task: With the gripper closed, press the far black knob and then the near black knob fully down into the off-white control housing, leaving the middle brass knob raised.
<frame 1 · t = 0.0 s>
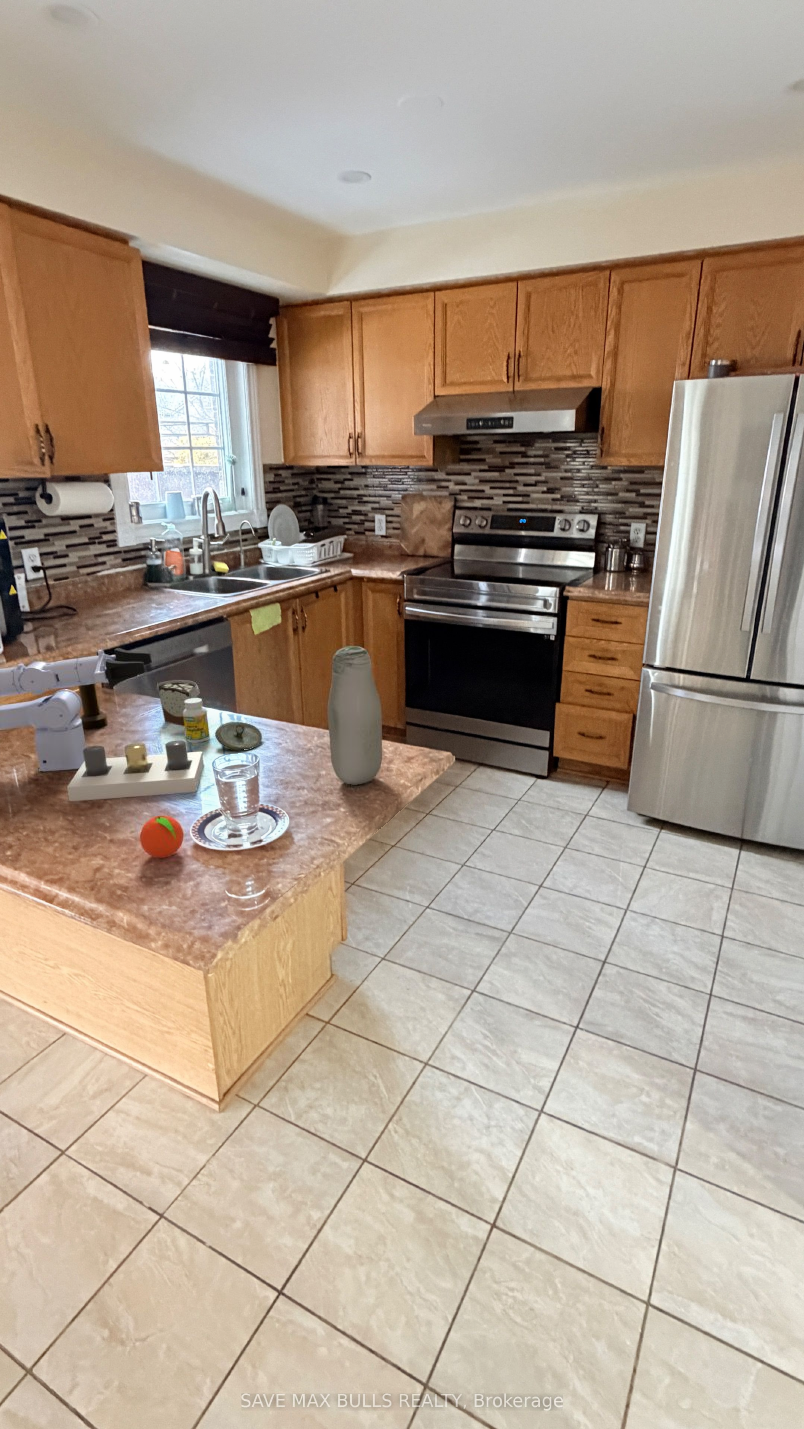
hand: (147, 662, 159), 22 cm above the worktop, tool horizontal, fingers open, 7 cm apart
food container: (187, 722, 189), on the worktop
clementine: (166, 857, 125), on the worktop
lid: (240, 745, 173), on the worktop
supplement bottle: (198, 739, 177), on the worktop
housing: (140, 782, 154), on the worktop
knob middle: (136, 758, 152), point 5 cm above the worktop, slide at 0.0 cm
knob far: (177, 755, 153), point 5 cm above the worktop, slide at 0.0 cm
grey bottle: (357, 782, 152), on the worktop
knob near: (95, 760, 151), point 5 cm above the worktop, slide at 0.0 cm
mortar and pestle: (94, 726, 187), on the worktop
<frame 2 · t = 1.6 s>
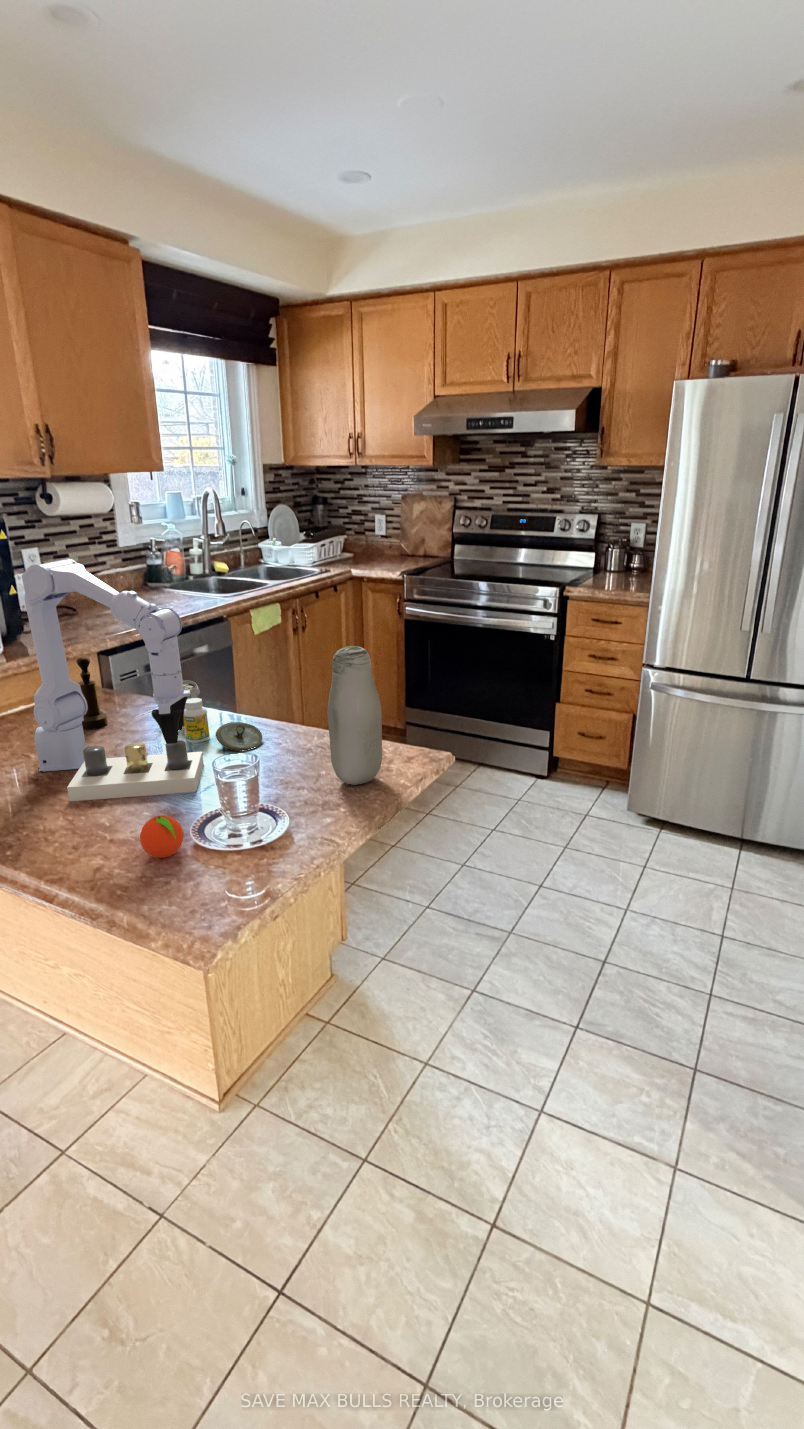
hand: (174, 736, 152), 9 cm above the worktop, tool pointing down, fingers open, 7 cm apart
nothing on the worktop moved.
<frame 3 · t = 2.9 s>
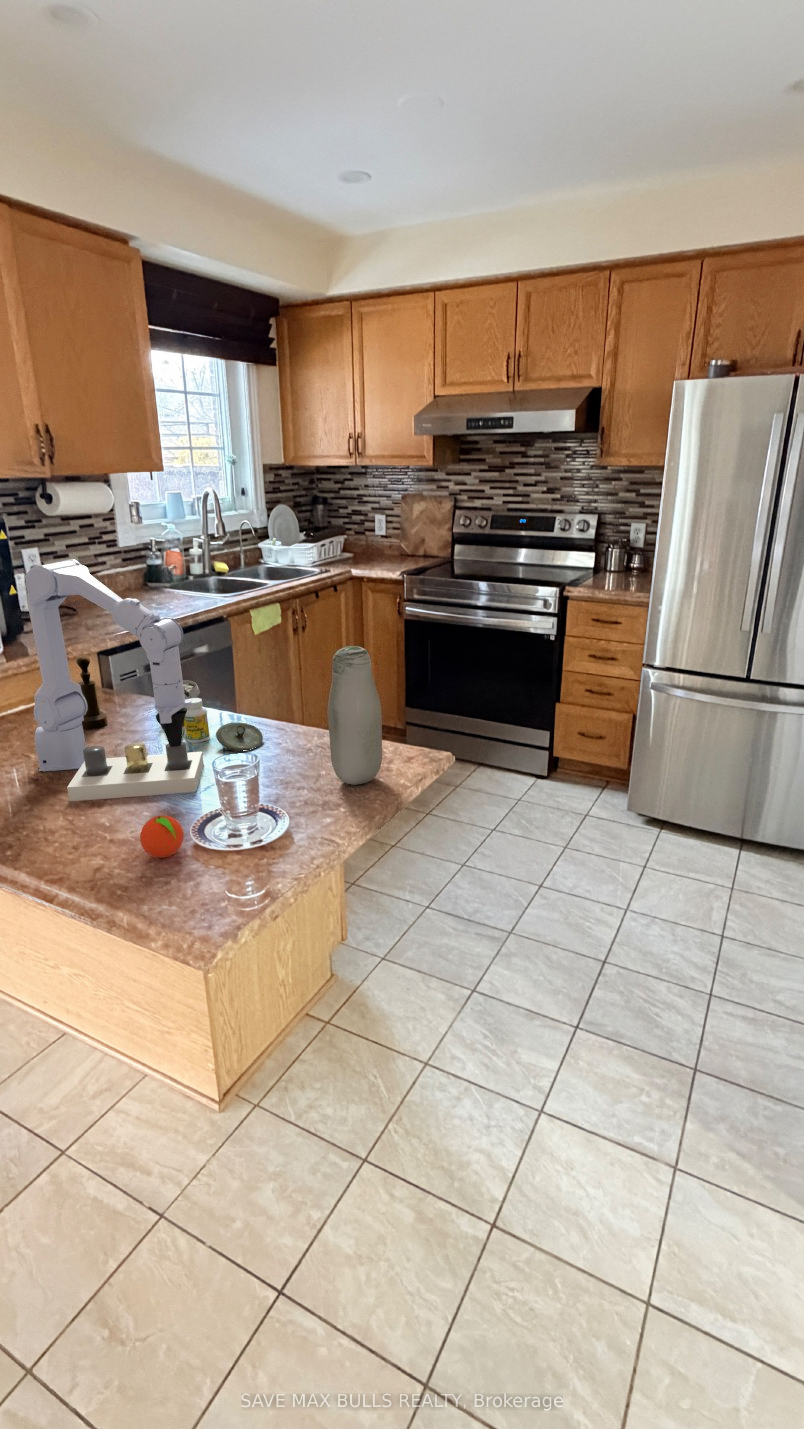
hand: (175, 745, 153), 7 cm above the worktop, tool pointing down, fingers closed, pressing on knob far
knob far: (177, 756, 153), point 5 cm above the worktop, slide at 0.3 cm, touching gripper
everything else where it was.
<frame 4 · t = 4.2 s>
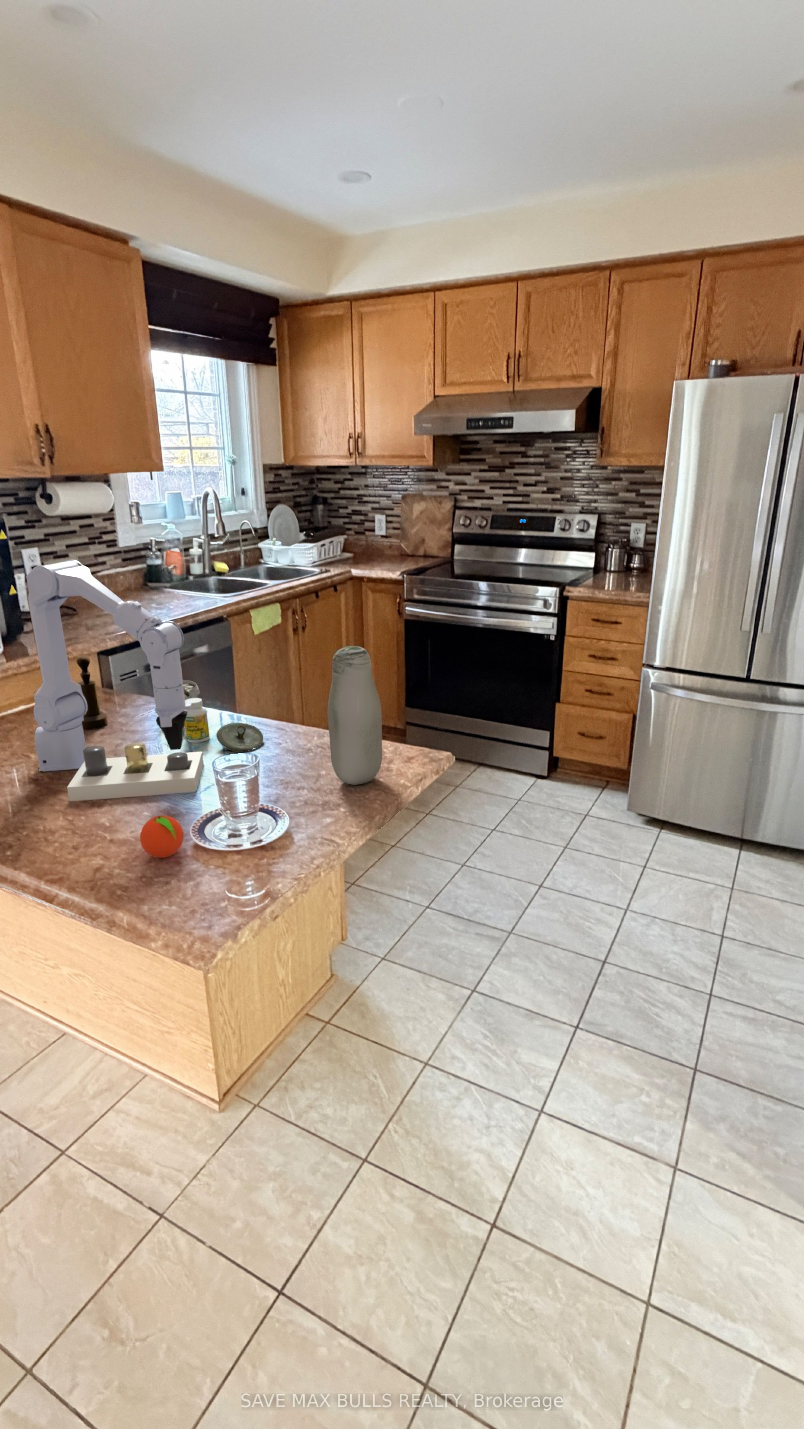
hand: (175, 748, 153), 7 cm above the worktop, tool pointing down, fingers closed
knob far: (178, 767, 154), point 3 cm above the worktop, slide at 2.7 cm
everything else where it was.
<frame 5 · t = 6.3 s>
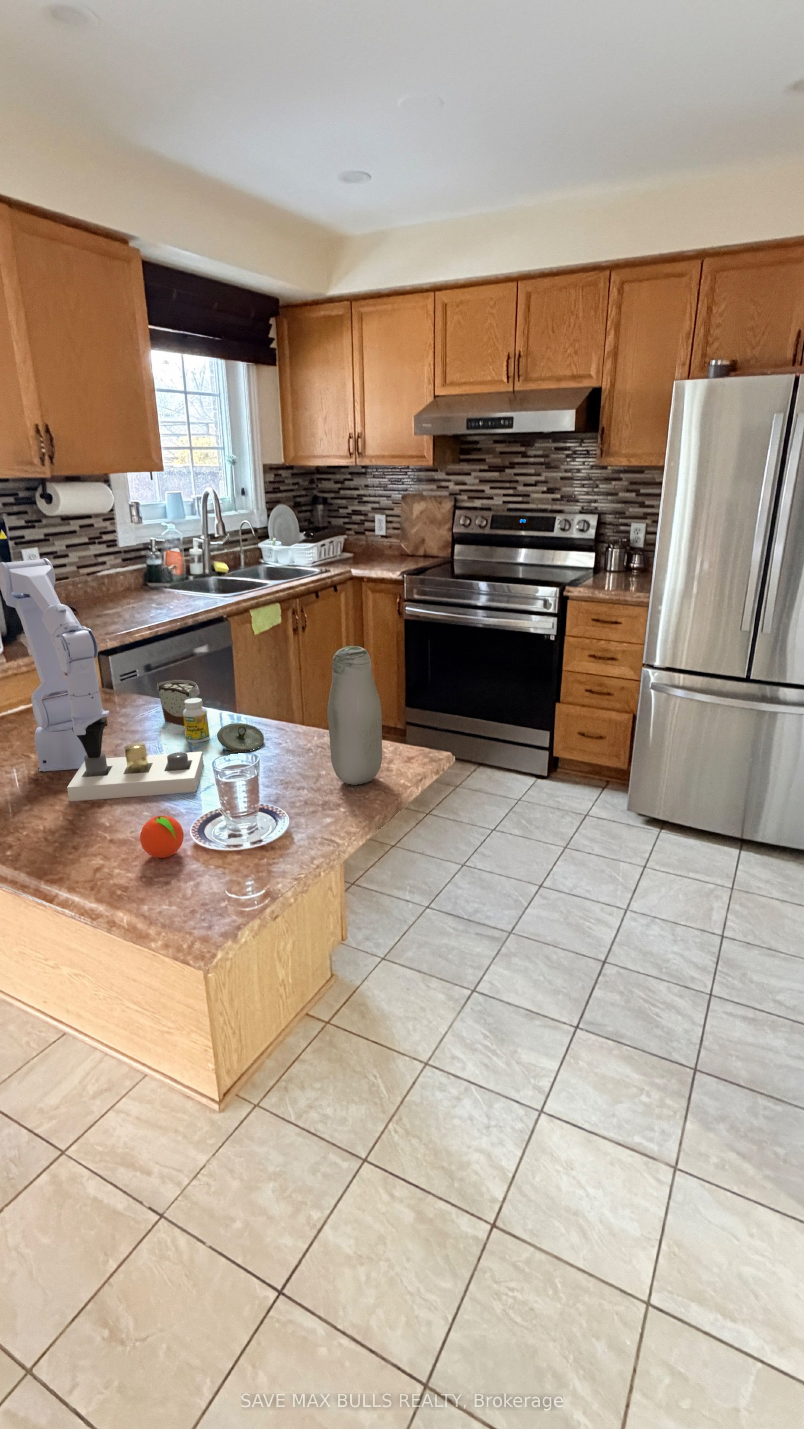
hand: (94, 756, 151), 6 cm above the worktop, tool pointing down, fingers closed, pressing on knob near
knob near: (96, 767, 152), point 4 cm above the worktop, slide at 1.5 cm, touching gripper
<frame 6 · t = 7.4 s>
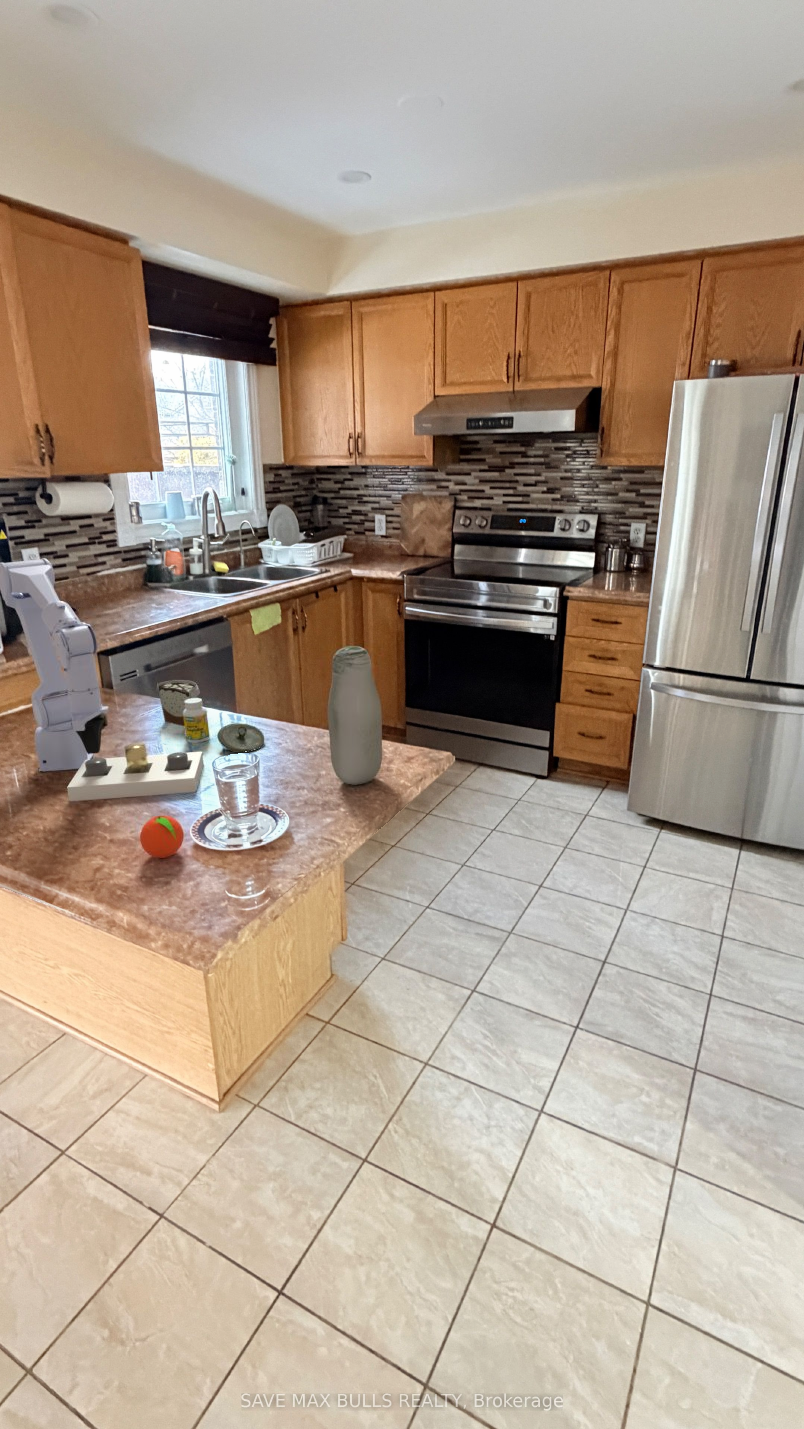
hand: (93, 752, 151), 7 cm above the worktop, tool pointing down, fingers closed
knob near: (97, 773, 152), point 3 cm above the worktop, slide at 2.7 cm
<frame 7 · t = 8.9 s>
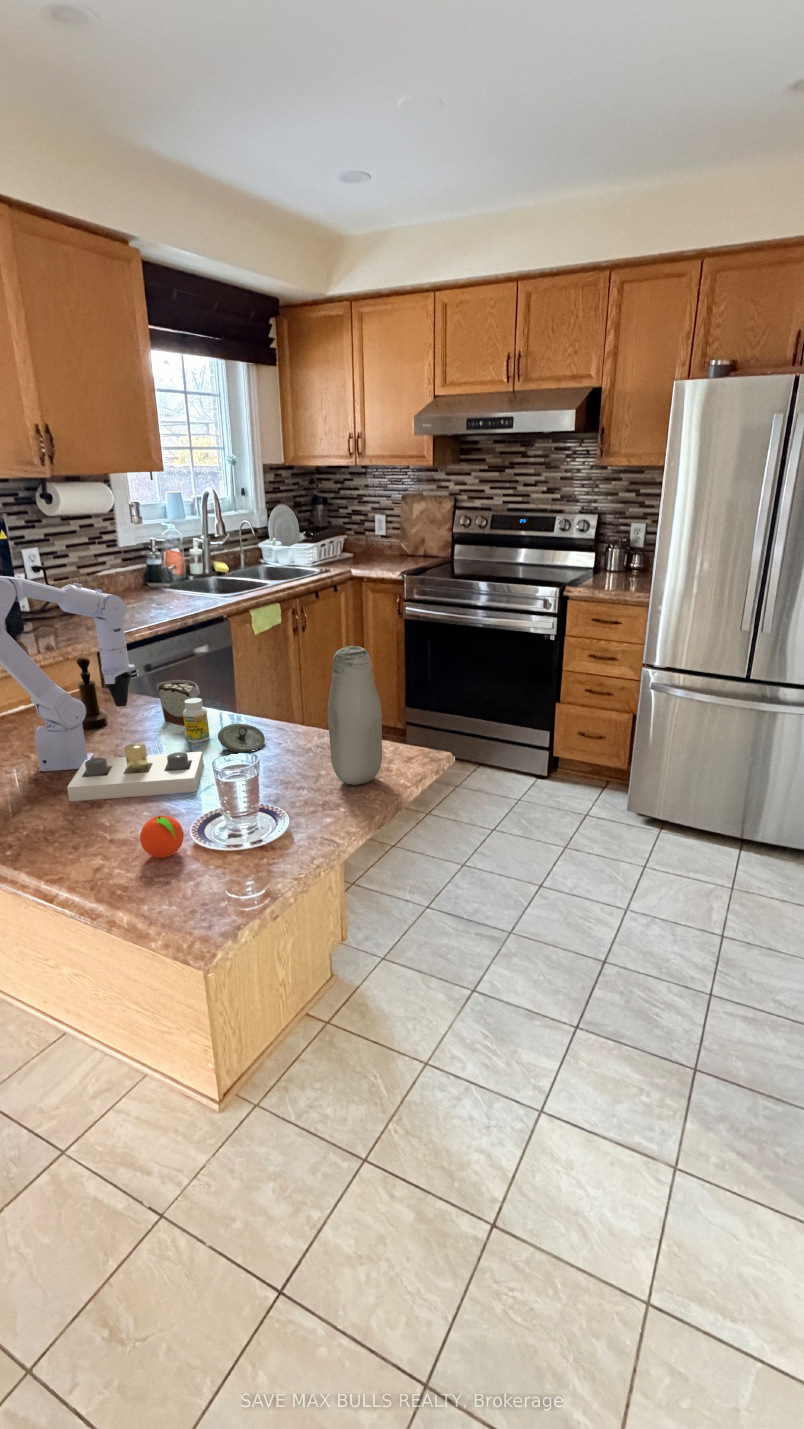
hand: (121, 705, 172), 9 cm above the worktop, tool pointing down, fingers closed
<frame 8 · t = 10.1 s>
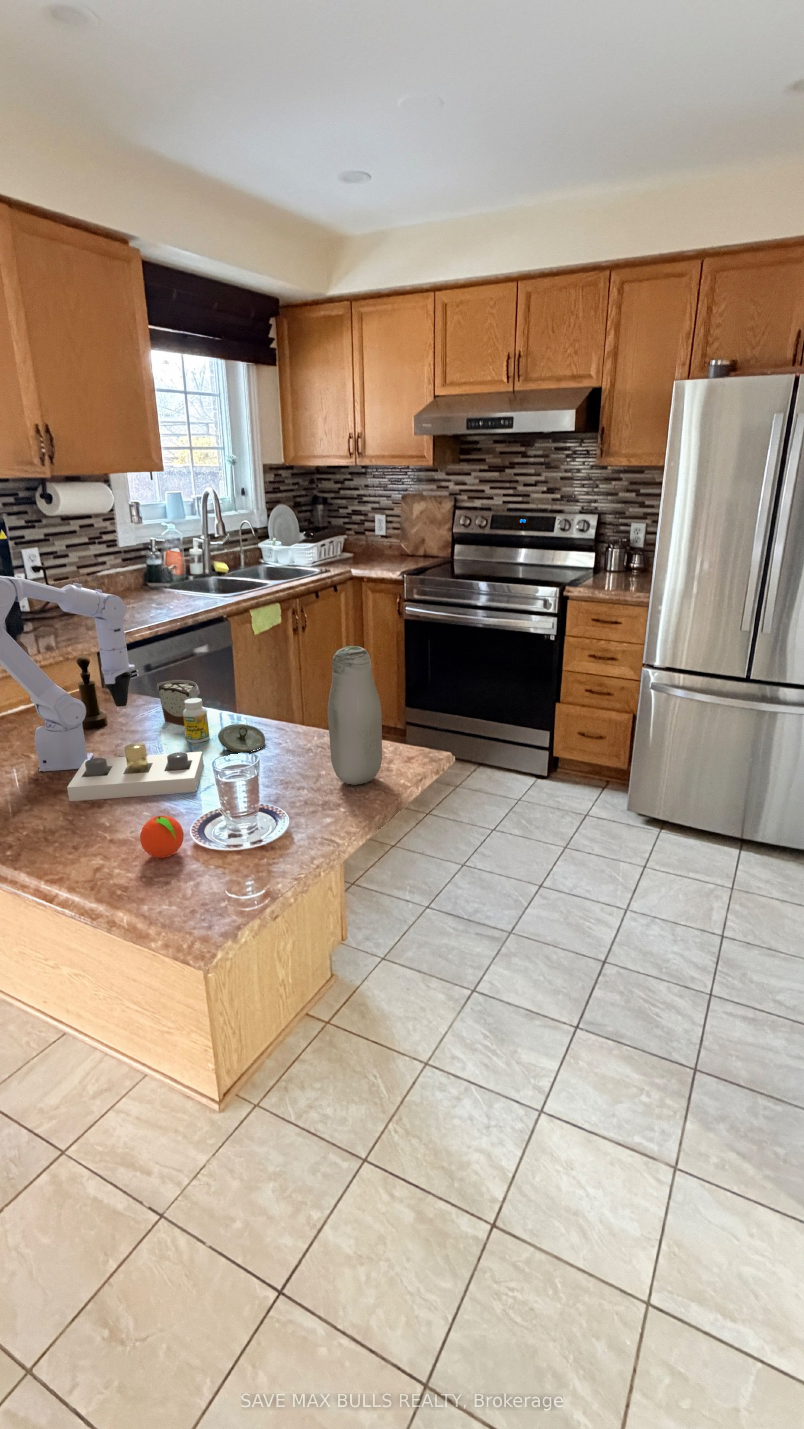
hand: (121, 705, 172), 9 cm above the worktop, tool pointing down, fingers closed
at the end: knob far slide at 2.7 cm; knob near slide at 2.7 cm; knob middle slide at 0.0 cm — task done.
